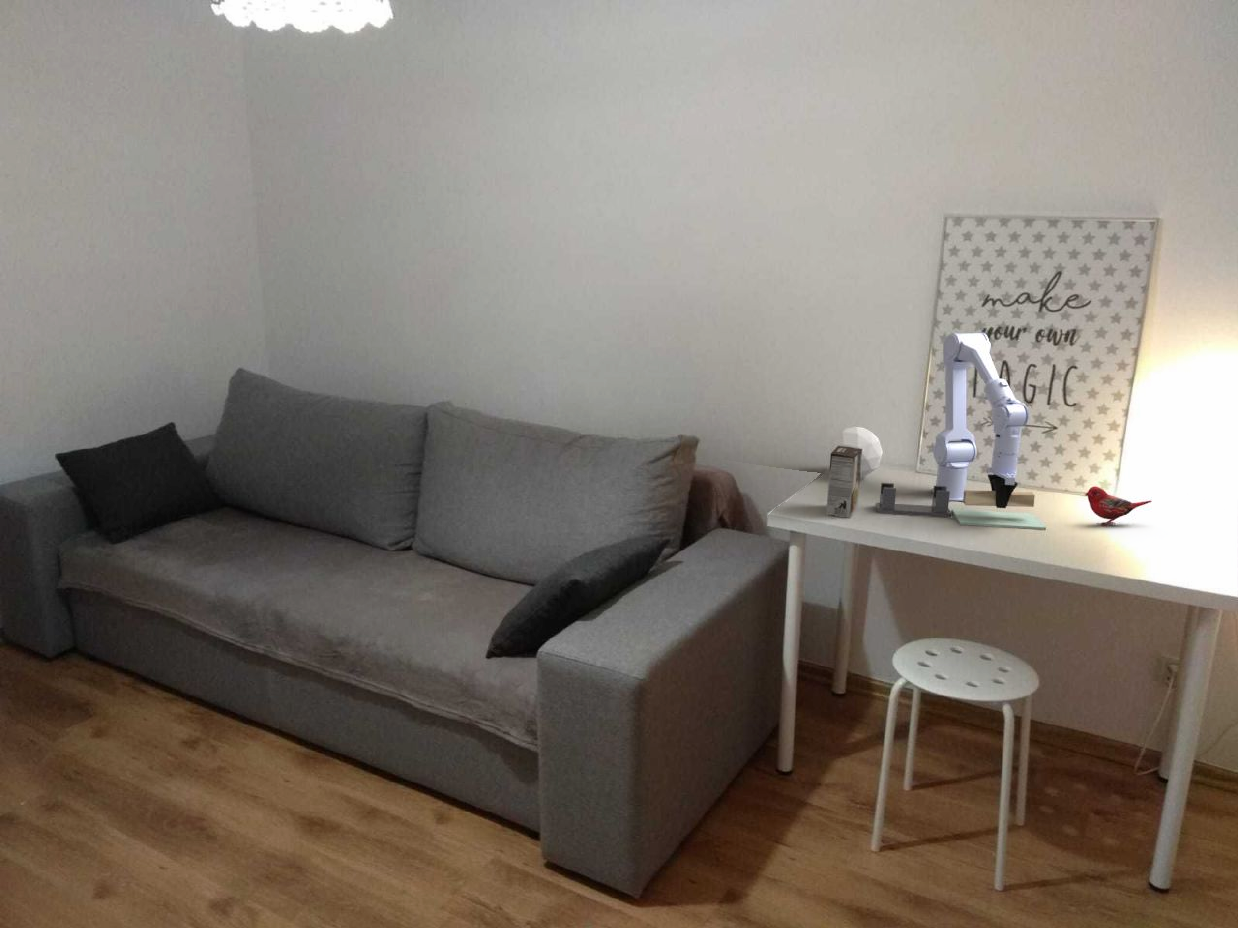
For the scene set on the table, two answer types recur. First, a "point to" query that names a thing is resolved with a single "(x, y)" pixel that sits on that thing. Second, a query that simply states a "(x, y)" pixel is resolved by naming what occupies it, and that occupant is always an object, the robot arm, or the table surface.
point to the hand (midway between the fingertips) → (999, 505)
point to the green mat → (998, 519)
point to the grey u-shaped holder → (937, 508)
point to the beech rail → (990, 498)
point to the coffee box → (844, 481)
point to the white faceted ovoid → (860, 447)
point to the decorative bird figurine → (1109, 505)
